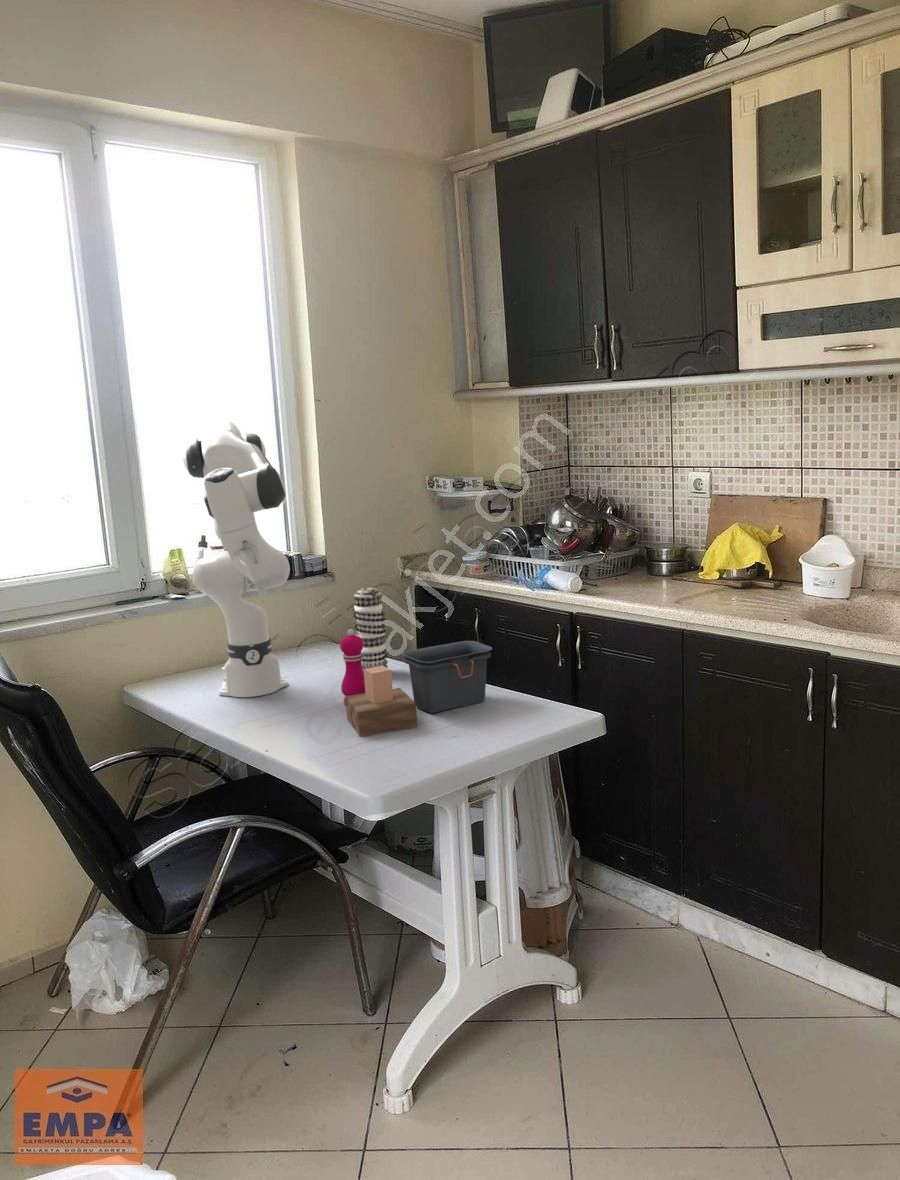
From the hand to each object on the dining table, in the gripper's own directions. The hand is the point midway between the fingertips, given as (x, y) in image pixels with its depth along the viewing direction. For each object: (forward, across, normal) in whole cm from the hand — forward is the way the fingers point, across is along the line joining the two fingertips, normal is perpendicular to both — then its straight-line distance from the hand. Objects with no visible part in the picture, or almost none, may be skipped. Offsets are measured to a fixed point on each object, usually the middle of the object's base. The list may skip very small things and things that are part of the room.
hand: (258, 592), depth 226 cm
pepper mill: (+39, +4, -16) cm, 42 cm away
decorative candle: (+43, +28, -29) cm, 59 cm away
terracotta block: (+32, -14, -17) cm, 39 cm away
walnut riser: (+38, -14, -16) cm, 43 cm away
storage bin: (+42, -12, -36) cm, 57 cm away
